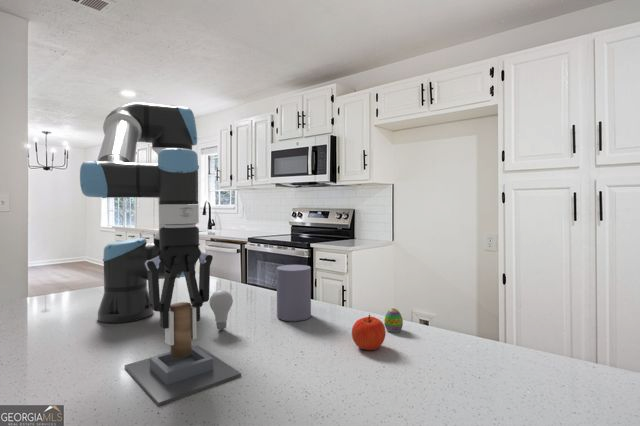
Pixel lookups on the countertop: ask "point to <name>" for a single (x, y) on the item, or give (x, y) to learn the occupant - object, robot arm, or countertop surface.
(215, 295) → the lightbulb
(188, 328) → the peg
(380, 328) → the apple
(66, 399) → the countertop surface
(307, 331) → the countertop surface
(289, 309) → the container
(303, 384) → the countertop surface
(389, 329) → the egg
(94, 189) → the robot arm
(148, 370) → the socket
